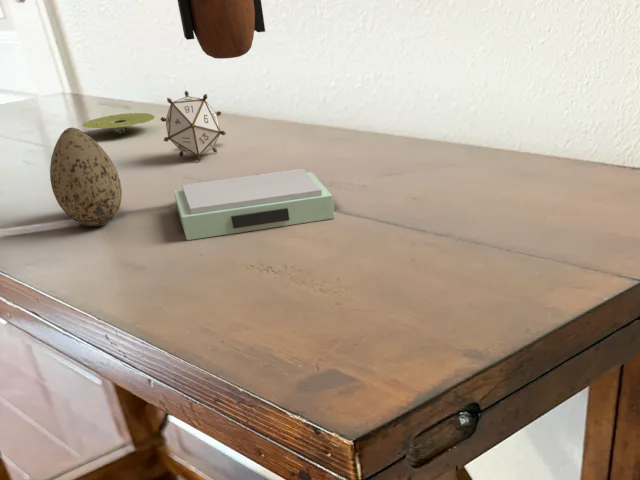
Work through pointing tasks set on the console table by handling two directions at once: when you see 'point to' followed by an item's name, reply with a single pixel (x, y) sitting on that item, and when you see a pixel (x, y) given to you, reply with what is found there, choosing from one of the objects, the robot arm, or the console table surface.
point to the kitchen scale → (252, 203)
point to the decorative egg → (84, 179)
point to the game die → (192, 125)
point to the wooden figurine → (223, 26)
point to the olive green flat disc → (119, 121)
